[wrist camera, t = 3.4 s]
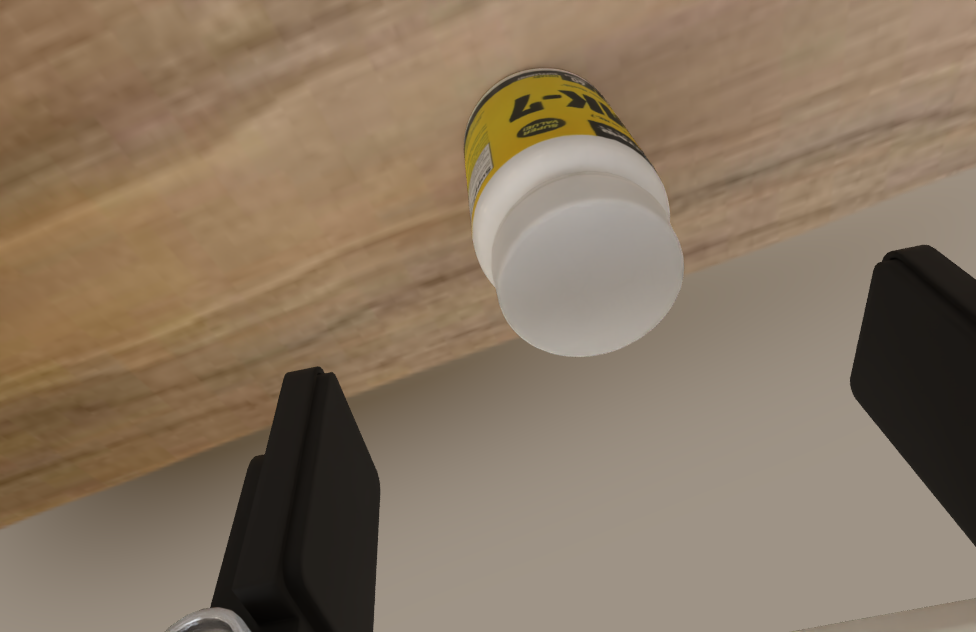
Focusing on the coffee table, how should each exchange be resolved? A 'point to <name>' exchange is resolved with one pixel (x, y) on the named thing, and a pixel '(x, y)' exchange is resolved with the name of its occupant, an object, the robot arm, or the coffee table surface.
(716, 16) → the coffee table surface
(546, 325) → the supplement bottle
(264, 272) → the coffee table surface
